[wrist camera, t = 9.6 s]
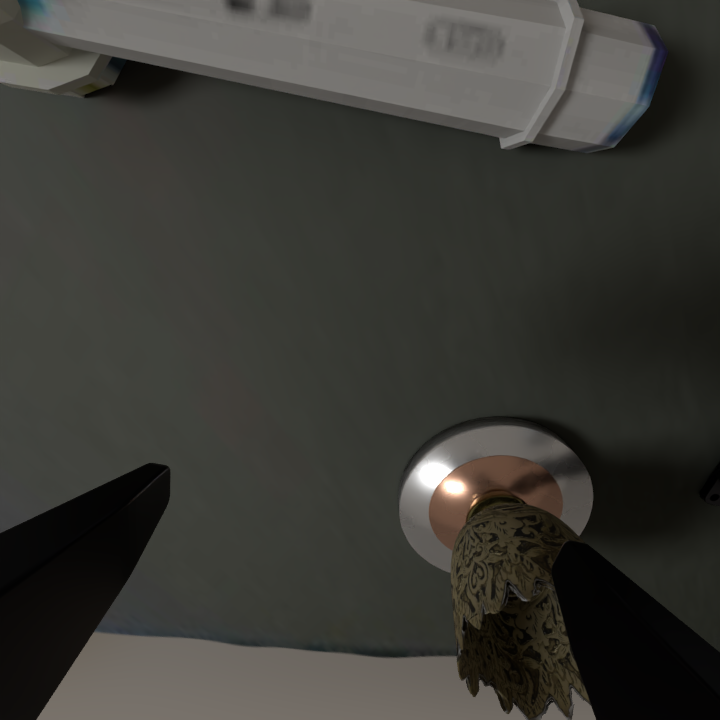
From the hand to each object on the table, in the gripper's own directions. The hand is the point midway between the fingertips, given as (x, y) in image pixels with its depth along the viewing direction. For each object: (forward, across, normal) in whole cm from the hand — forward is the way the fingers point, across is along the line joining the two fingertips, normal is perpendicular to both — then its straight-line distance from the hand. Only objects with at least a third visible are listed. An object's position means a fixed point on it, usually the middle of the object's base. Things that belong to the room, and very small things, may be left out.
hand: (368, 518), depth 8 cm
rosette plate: (+12, -9, +8) cm, 17 cm away
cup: (+11, -9, +8) cm, 16 cm away
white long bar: (+12, +6, -11) cm, 18 cm away
